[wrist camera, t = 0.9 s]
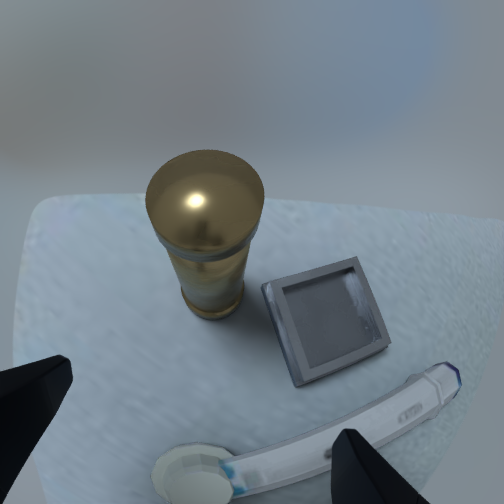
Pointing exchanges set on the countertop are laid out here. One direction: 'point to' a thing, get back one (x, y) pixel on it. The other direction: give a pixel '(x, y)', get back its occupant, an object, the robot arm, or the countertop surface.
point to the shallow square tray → (325, 319)
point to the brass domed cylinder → (207, 225)
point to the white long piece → (299, 446)
